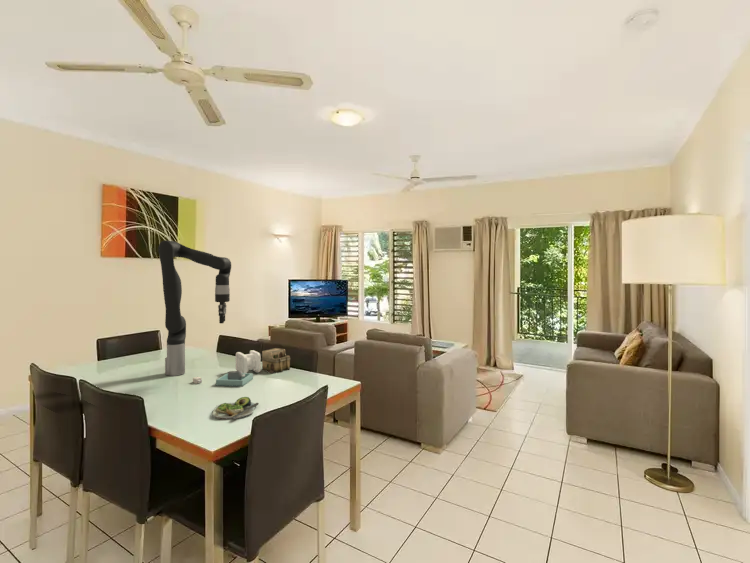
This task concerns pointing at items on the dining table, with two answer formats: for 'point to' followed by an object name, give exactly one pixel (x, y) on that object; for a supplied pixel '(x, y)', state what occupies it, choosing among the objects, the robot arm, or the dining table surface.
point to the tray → (225, 382)
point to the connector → (235, 375)
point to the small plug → (197, 380)
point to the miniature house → (275, 360)
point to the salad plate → (235, 409)
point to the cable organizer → (248, 362)
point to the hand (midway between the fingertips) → (222, 322)
